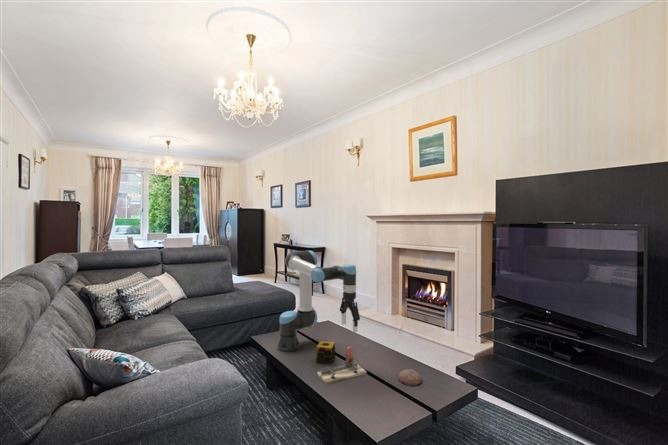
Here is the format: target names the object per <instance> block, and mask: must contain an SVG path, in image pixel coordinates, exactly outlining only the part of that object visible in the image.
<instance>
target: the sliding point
mask: <svg viewBox="0 0 668 445" xmlns="http://www.w3.org/2000/svg"><path fill="white" fill-rule="evenodd" d="M354 363H355V361H354V347H353V346H352V345H346V346H345V360H344V365H347V366H349V365H351V366H352V367H353V368H354V369H355V372H356V370H357V367H356V366H354Z"/></svg>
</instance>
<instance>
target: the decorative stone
mask: <svg viewBox="0 0 668 445" xmlns="http://www.w3.org/2000/svg"><path fill="white" fill-rule="evenodd" d="M397 378H398V381H399V382H400V383H401V382H402V383H401V384H403V383H404V384H403V385H405V384H407V385H406V386H409V385H415V386H418V385H417V384H419V383H420V384H421V382H422V377H421V374H420V373H419V372H417V371H416V370H414V369H413V368H411V369H410V368H407V369H403V370H402V371H401V372H400V373H399V374H398V377H397ZM420 384H419V385H420Z"/></svg>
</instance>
